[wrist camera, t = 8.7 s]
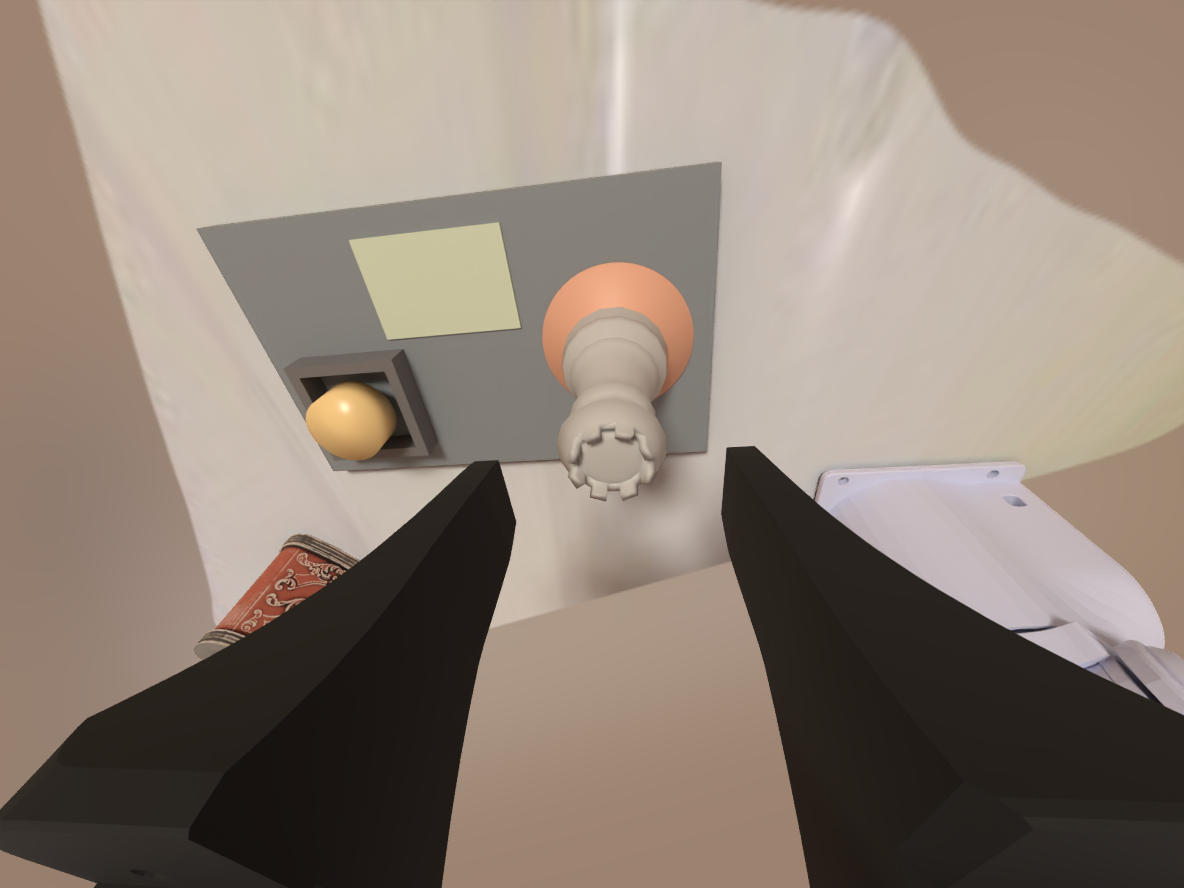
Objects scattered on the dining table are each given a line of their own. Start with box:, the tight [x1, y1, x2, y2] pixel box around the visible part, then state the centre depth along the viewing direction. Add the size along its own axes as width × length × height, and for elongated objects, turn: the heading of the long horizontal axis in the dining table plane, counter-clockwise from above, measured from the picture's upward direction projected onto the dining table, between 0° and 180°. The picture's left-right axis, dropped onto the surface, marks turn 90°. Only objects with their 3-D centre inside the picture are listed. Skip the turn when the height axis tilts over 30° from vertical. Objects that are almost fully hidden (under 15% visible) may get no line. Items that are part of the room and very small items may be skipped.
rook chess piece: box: [557, 307, 668, 501], centre depth 15 cm, size 4×4×8 cm
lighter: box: [194, 534, 359, 660], centre depth 25 cm, size 8×3×10 cm, turn 41°
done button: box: [306, 381, 397, 460], centre depth 19 cm, size 3×3×2 cm
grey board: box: [197, 162, 722, 471], centre depth 19 cm, size 20×12×2 cm, turn 96°
